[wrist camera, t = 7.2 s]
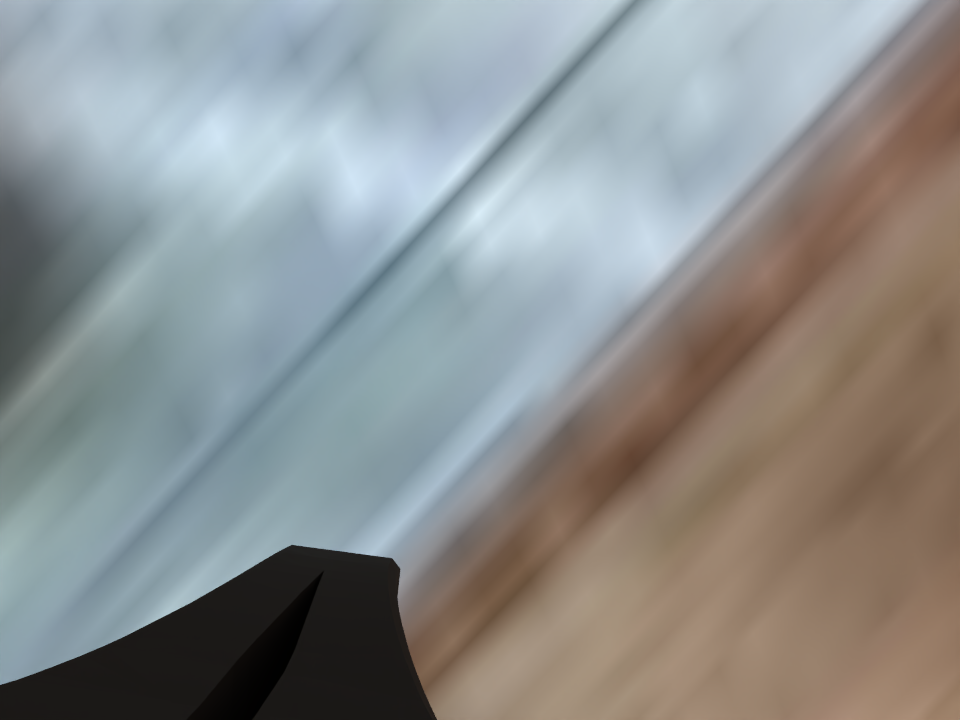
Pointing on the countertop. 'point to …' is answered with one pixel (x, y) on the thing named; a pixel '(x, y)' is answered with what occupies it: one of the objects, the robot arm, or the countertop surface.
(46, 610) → the countertop surface
